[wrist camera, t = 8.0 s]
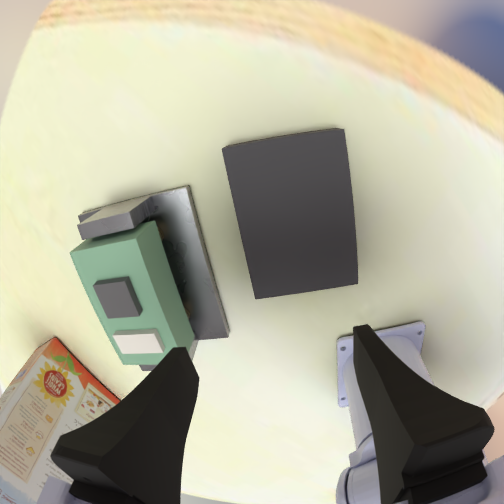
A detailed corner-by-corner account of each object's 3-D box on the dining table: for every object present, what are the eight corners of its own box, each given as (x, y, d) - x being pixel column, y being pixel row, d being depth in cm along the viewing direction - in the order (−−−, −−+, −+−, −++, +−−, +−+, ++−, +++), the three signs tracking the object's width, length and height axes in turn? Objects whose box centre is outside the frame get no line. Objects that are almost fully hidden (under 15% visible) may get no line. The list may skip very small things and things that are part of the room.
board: (194, 335, 22) (183, 370, 19) (136, 339, 23) (120, 370, 19) (154, 220, 18) (131, 243, 15) (92, 234, 19) (64, 256, 16)
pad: (351, 270, 22) (358, 283, 20) (256, 284, 22) (255, 299, 21) (336, 128, 18) (343, 129, 16) (226, 145, 19) (221, 148, 17)
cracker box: (35, 348, 28) (-50, 475, 9) (56, 334, 27) (-43, 484, 8) (112, 422, 33) (62, 550, 14) (141, 416, 31) (90, 564, 12)
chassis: (229, 331, 24) (222, 368, 21) (134, 337, 26) (116, 370, 22) (189, 185, 20) (168, 202, 16) (83, 212, 21) (51, 232, 17)
